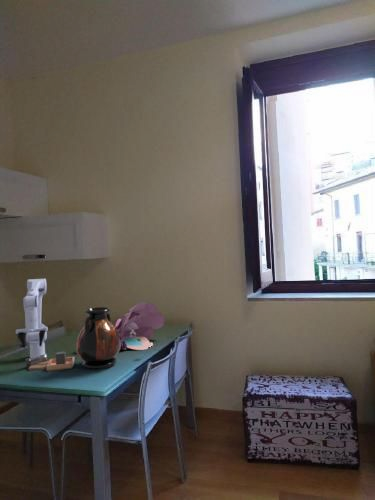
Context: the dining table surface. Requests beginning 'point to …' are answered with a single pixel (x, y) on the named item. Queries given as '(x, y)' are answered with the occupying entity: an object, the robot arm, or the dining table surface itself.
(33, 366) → the crank base
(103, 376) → the dining table surface
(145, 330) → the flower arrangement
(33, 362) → the crank lever
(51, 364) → the tray
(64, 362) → the stop block
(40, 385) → the dining table surface
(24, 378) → the dining table surface
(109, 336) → the amphora vase
